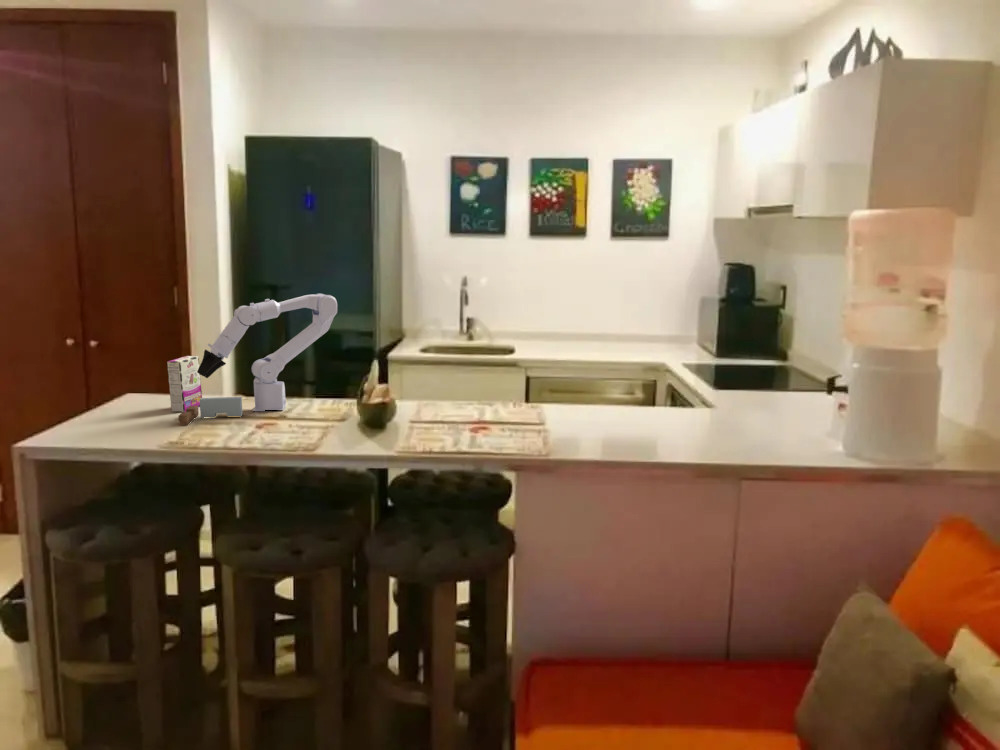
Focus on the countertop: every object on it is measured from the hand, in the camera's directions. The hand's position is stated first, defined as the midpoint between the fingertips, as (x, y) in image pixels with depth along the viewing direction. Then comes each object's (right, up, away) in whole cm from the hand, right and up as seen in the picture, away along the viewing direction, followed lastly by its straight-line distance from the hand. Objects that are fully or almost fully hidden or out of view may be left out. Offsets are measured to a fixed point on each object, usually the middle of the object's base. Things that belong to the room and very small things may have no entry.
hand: (202, 375), depth 264 cm
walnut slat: (-3, -14, -4) cm, 14 cm away
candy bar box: (-10, -11, +14) cm, 20 cm away
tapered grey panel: (+6, -13, 0) cm, 14 cm away
